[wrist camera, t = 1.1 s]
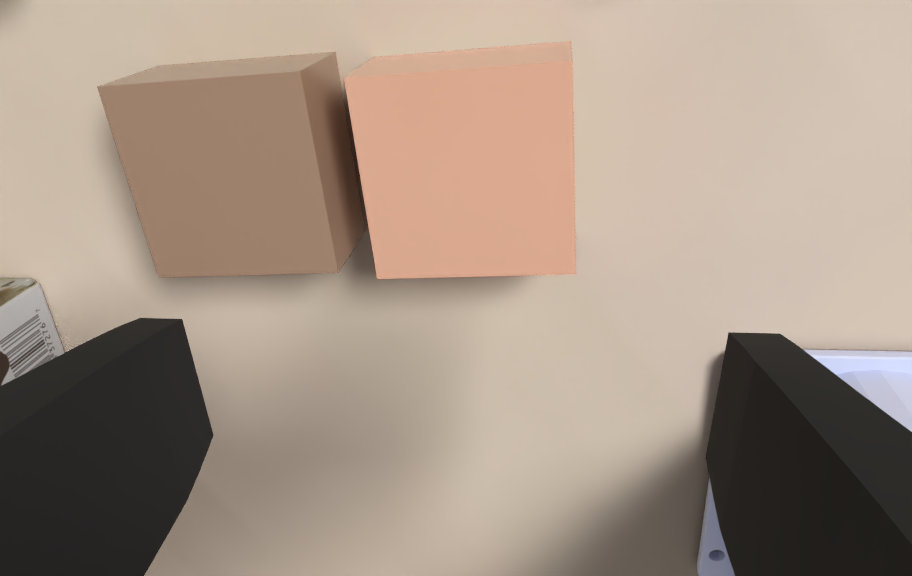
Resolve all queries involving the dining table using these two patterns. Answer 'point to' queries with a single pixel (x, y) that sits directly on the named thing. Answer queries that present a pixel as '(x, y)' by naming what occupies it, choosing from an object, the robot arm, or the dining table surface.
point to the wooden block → (239, 165)
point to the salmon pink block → (468, 161)
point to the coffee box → (25, 328)
